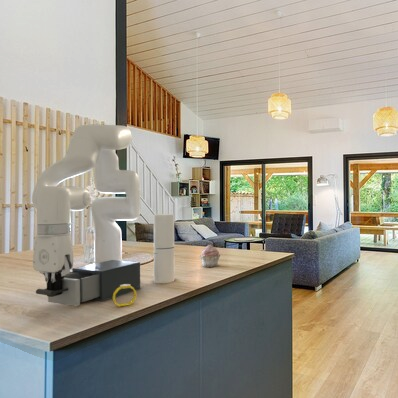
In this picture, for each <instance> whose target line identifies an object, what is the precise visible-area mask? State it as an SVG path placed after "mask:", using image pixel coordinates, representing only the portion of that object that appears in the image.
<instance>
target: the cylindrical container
mask: <svg viewBox="0 0 398 398" xmlns="http://www.w3.org/2000/svg"><path fill="white" fill-rule="evenodd" d="M174 281H175V214H174V213H155V214H153V283H154V284H168V283H172V282H174Z"/></svg>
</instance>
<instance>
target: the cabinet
mask: <svg viewBox="0 0 398 398" xmlns="http://www.w3.org/2000/svg"><path fill="white" fill-rule="evenodd" d="M71 270H72V272H71V273H74V272H88V273H98V274H100V297H97V298H94V299H91V300H90V301H98V302H105V301H107V300H110V299H113V294H114V292H115V290H116V289H117V288H119V287H120V285H122V284H130V285H131V287H133V288H134V289H135V291H137V290H139V289H141V262H140V261H133V260H131V261H130V260H122V261H120V260H110V261H105V262H100V263H96V264H95V263H92V264H91V263H90V264H86V265H82V266H78V267H77V266H76V267H72V268H71ZM131 292H134V291H133V289H131V288H125V289H120V290H119V291H118V292H117V293H116V295H115V298H116V297H119V296H121V295H125V294H128V293H131Z"/></svg>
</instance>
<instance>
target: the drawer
mask: <svg viewBox="0 0 398 398" xmlns="http://www.w3.org/2000/svg"><path fill="white" fill-rule="evenodd" d="M62 288H63V289H61V290H57V291H53V290H47V287H46V288H37V289H36V290H35V293H36V295H43V296H47V295H49V296H54V295H55V294H56V293H60V292H63V293H62V294H61V295H57V296H54V297H49V296H47V302H48V303H51V304H52V303H53V304H61V305H65V306H71V307H72V306H73V307H77V306H80V305H81V303H84V302H87V301H92V300H91V299H94V298H97V297H100V274H98V273H88V272H74V273H72V272H70V275H66V276H65V277H64V280H62Z"/></svg>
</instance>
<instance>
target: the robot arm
mask: <svg viewBox="0 0 398 398" xmlns="http://www.w3.org/2000/svg"><path fill="white" fill-rule="evenodd" d="M132 140H133V135H132V132H131V129H129V127H127V126H126V125H117V124H95V123H94V124H81V125H78V126H77V127H76V128H75V129H74V130H73V132H72V136H71V139H70V141H69V144H68V146H67V150H66V152H65V155H64V157H63V158H61V159H59V160H57V161H56V162H54V163H52V164H51V165H50V166H48V167H46V169H44V170H43V171H42V172H41V173H40V174H39V177H38V178H37V181H36V183H35V185H34V188H33V192H32V196H31V201H32V205H33V206H34V208H36V236H35V239H34V244H33V257H32V267H33V268H32V269H33V270H34V271H36V272H39V274H41V275H43V276H44V281H45V283H46V288H47V290H53V291H57V290H61V289H63V288H62V280H64V277H65V276H66V275H70V273H71V270H72V268H74V246H73V240H72V230H71V229H72V228H71V225H72V222H71V220H72V219H71V212H80V211H83V210H86V209H87V208H89V206H90V210H91V215H92V221H93V232H94V233H93V236H94V239H93V241H94V242H93V243H94V244H93V245H94V246H93V247H94V250H93V251H94V256H93V257H94V258H93V259H94V264H96V263H100V262H105V261H110V260H120V261H123V250H122V249H123V243H122V237H123V236H122V234H123V233H122V229H121V227H120V226H119V225H118V223H117V221H135V220H137V219H139V217H140V216H141V210H142V209H141V207H142V206H141V183H140V182H141V181H140V177H139V175H138V173H137V172H136V171H135V170H131V169H120V165H119V164H120V163H119V157H118V154H117V153H116V152H115V151H118V150H123V149H127V148H129V147H130V145H131V144H132ZM92 170H94V171H93V173H94V187H95V190H96V191H97V192H98V193H100V194H113V195H114V194H117V195H119V194H122V195H123V194H124V195H125V196H102V197H97V198H95V199H94V200H93V201H92V195H91V193H90V192H89V190H88V189H87V188H86V187H85V188H84V187H82V186H69V185H68V186H67V185H63V186H62V185H59V184H60V183H62V182H63V181H65V180H68V179H70V178H74V177H76V176H79V175H83V174H85V173H88V172H90V171H92ZM62 293H63V292H60V293H56V294H55V295H54V296H57V295H61V294H62ZM48 296H49V295H46V297H48ZM54 296H49V297H54Z"/></svg>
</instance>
